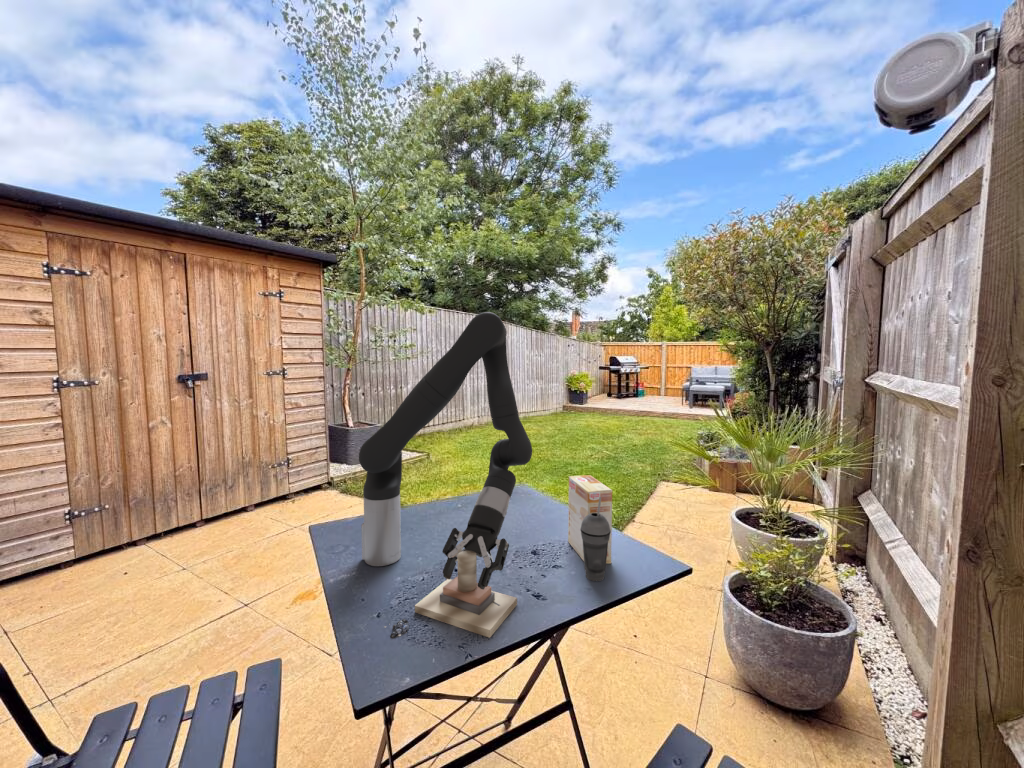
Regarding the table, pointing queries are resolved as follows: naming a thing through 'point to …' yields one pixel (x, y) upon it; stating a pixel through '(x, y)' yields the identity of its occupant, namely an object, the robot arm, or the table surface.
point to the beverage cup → (595, 544)
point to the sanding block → (467, 587)
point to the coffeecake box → (587, 508)
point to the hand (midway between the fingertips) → (463, 582)
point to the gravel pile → (400, 628)
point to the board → (467, 612)
